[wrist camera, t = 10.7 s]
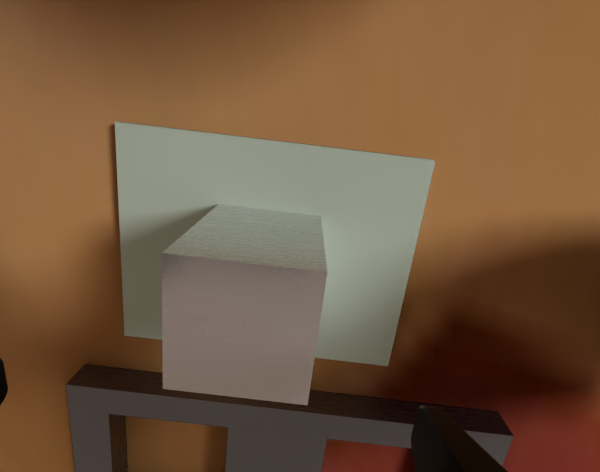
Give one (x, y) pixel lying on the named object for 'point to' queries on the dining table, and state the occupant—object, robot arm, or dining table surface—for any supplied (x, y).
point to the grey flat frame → (249, 422)
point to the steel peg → (244, 304)
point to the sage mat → (279, 197)
